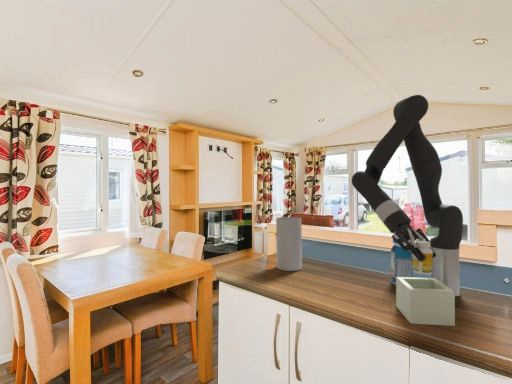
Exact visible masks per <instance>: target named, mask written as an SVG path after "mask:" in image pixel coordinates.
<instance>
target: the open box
mask: <svg viewBox="0 0 512 384" xmlns="http://www.w3.org/2000/svg"><path fill="white" fill-rule="evenodd" d="M395 292H396V293H395V295H396V296H395V297H396V299H395V300H396V301H395V302H396V303H395V304H396V305H395V306H396V308H397V309H398V310H399V311H400V313H401V314H402V315H403V317H405V319H406V320H407V321H408V323H409V324H410V323H411V324H413V325H414V324H415V325H433V326H450V327H451V326H453V327H455V326H456V323H455V322H456V319H455V318H456V307H455V306H456V303H455V302H456V301H455V300H456V297H455V291H453V290H452V289H450V288H449V287H447V286H446V285H444V284H443V283H441V282H440V281H438V280H437V279H435V278H430V277H414V276H413V277H396V285H395Z"/></svg>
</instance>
